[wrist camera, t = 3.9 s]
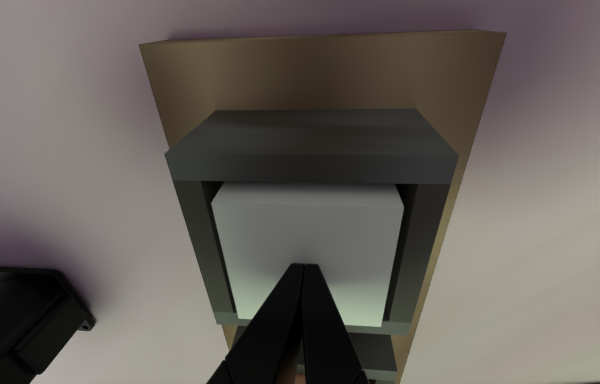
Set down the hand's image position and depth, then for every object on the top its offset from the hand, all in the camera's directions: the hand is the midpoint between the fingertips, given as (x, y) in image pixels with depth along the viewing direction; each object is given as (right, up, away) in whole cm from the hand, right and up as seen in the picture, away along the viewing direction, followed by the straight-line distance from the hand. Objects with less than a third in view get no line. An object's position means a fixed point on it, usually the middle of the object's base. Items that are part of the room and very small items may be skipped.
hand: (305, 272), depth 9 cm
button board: (+1, -1, +8) cm, 8 cm away
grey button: (0, +2, +3) cm, 4 cm away
